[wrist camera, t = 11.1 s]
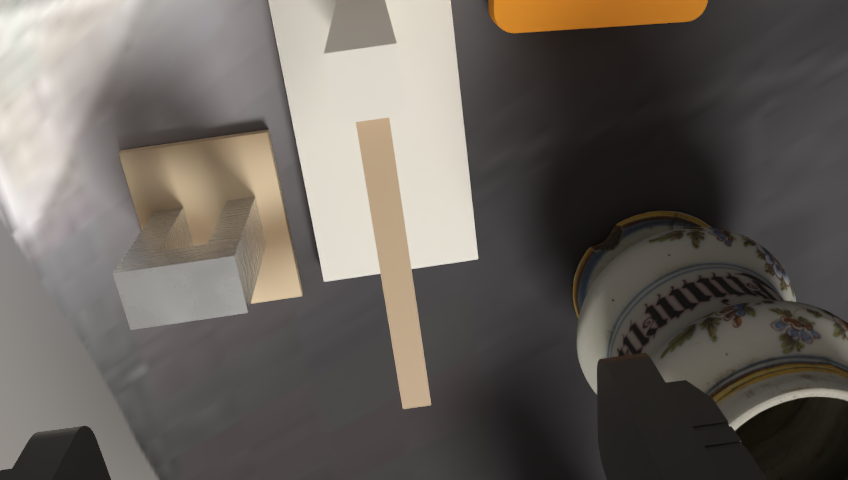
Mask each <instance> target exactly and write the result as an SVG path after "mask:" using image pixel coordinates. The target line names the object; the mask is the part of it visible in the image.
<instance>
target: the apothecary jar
mask: <svg viewBox="0 0 848 480" xmlns="http://www.w3.org/2000/svg"><path fill="white" fill-rule="evenodd" d="M573 303H574V308H575V312H576V315H577V317H578V324H577V334H576V341H577V353H578V358H579V362H580V366H581V368H582V371H583V373H584V375H585V377H586V379H587V381H588V383H589V385H590V386H591V388H592V389H593V390H594V392H595V393H596V394H597V364H598V360H599V359H602V358H610V357H617V356H625V355H632V354H640V353H647V354H648V355H649V356H650V358H651V359H652V361H653V363H654V364H655V366H656V367H657V369H658V371H659V372H660V374H661V376H662V377H663V379H664V381H665V382H666V383H667V382H674V381H682V380H686V381H688V382H689V383H691V384H692V385H694V386H695V387H697V388H698V389H700V390H701V391H703V392H704V393H705V394H707V395H708V396H710V397H711V398H713V400H714V401H715V403H716V404H717V406H718V407H719V409H720V410H721V412H722V413H723V414H724V416H725V417H726V419H727V420H728V423H729V427H730V426H732V428H733V429H734V431H735V432H736V434H737V435H738V437H739V438H740V440H741V442H742V446H745V447H746V448H747V450H748V451H749V453H750V454H751V456H752V457H753V459H754V460H755V462H756V463H757V465H758V466H759V468H760V469H761V471H762V472H763V474H764V475H765V476H766V478H767V479H768V480H848V323H846V322H845V321H844V320H842V319H840V318H839V317H837V316H835V315H833V314H832V313H830V312H828V311H826V310H823V309H820V308H818V307H815V306H811V305H808V304H804V303H799V302H796V298H795V294H794V291H793V288H792V285H791V283H790V280H789V278H788V276H787V274H786V273H785V271H784V269H783V268H782V266H781V265H780V263H779V262H778V261H777V260H776V259H775V258H774V257H773V256H772V255H771V254H770V253H769V252H768V251H767V250H766V249H765V248H763V247H762V246H761V245H759V244H758V243H756V242H755V241H753V240H751V239H749V238H747V237H745V236H743V235H740V234H737V233H734V232H731V231H728V230H723V229H718V228H712V227H711V226H709V225H708V224H707V223H705V222H704V221H702V220H700V219H698V218H696V217H694V216H691V215H688V214H685V213H682V212H675V211H652V212H646V213H642V214H638V215H635V216H632V217H629V218H627V219H625V220H623V221H620V222H619V223H617V224H616V225H615V226H614V228H613V230H612V231H611V232H610V234H609V235H608V237H607V238H606V240H605V241H604V242H602V243H601V244H598V245H593V246H590V247H589V248H588V250H587V251H586V253H585V254H584V256H583V257H582V259H581V261H580V263H579V265H578V268H577V270H576V273H575V276H574V281H573Z"/></svg>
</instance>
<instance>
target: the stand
mask: <svg viewBox="0 0 848 480" xmlns="http://www.w3.org/2000/svg"><path fill="white" fill-rule="evenodd" d="M268 1H269V6H270V11H271V16H272V21H273V26H274V31H275V37H276V42H277V47H278V52H279V57H280V62H281V67H282V72H283V77H284V82H285V87H286V92H287V97H288V102H289V107H290V112H291V117H292V123H293V128H294V133H295V138H296V143H297V148H298V153H299V158H300V163H301V168H302V173H303V178H304V183H305V188H306V193H307V198H308V203H309V208H310V214H311V219H312V224H313V229H314V234H315V239H316V244H317V249H318V254H319V259H320V264H321V269H322V274H323V279H324V282H326V281H333V280H340V279H347V278H353V277H360V276H367V275H374V274H381V279H382V285H383V291H384V297H385V303H386V309H387V315H388V322H389V328H390V334H391V340H392V346H393V352H394V358H395V364H396V370H397V376H398V382H399V388H400V395H401V401H402V407H403V409H408V408H415V407H422V406H428V405H431V400H430V393H429V386H428V380H427V373H426V366H425V359H424V352H423V345H422V339H421V332H420V325H419V318H418V311H417V304H416V297H415V291H414V284H413V277H412V270H411V269H415V268H422V267H428V266H435V265H442V264H449V263H456V262H463V261H469V260H476V259H478V252H477V242H476V233H475V224H474V215H473V205H472V196H471V187H470V177H469V168H468V159H467V149H466V140H465V131H464V121H463V112H462V103H461V93H460V84H459V75H458V65H457V56H456V47H455V37H454V28H453V19H452V9H451V0H268Z"/></svg>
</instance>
